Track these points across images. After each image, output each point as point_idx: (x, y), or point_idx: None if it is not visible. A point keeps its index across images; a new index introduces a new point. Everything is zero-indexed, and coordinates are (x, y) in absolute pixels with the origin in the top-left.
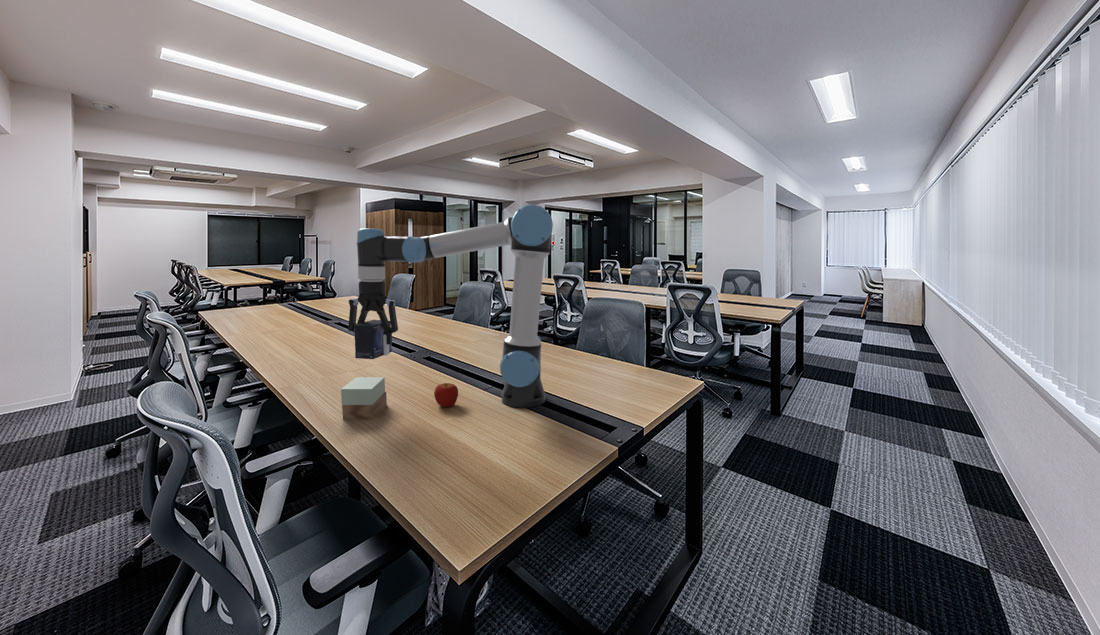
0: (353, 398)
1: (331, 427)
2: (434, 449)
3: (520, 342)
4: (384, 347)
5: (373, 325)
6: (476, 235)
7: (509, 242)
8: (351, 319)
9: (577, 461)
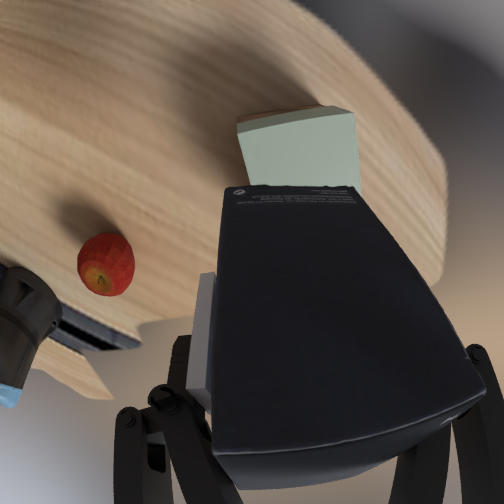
0: (301, 113)
1: (315, 50)
2: (23, 48)
3: None
4: (205, 309)
5: (220, 461)
6: None
7: None
8: (495, 429)
9: None
